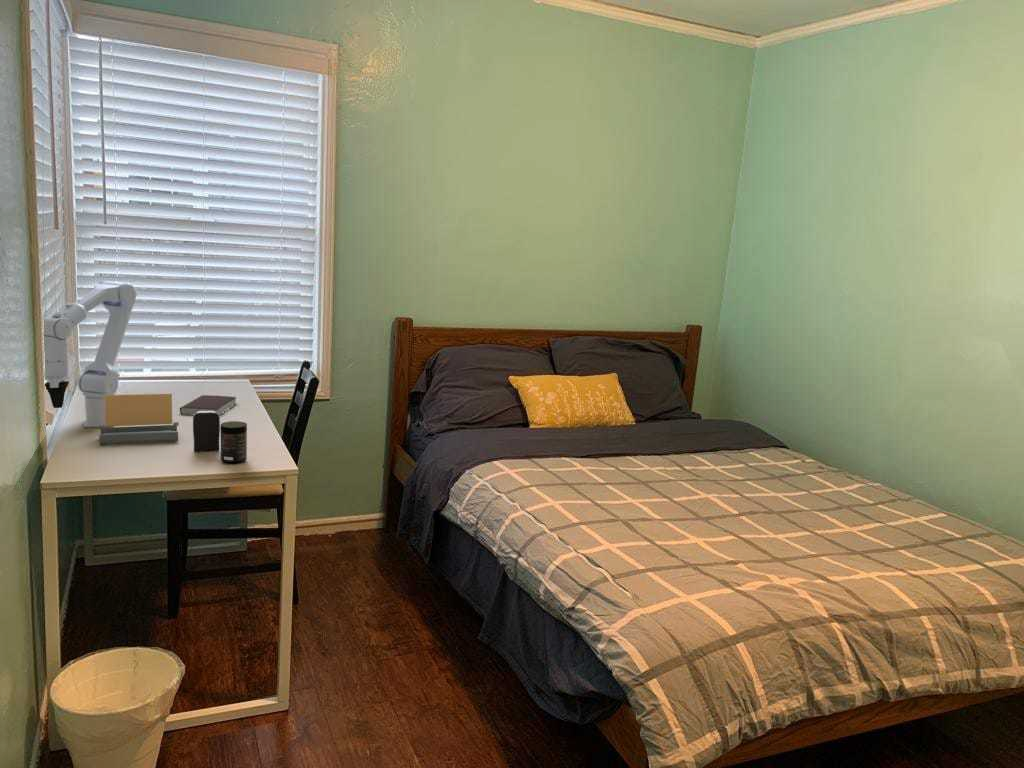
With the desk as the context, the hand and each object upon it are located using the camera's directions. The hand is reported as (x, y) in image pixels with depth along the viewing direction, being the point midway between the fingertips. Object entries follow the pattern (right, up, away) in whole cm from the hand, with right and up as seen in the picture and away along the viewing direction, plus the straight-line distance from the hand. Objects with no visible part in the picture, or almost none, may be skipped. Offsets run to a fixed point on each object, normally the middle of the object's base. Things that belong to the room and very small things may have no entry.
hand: (58, 407), depth 217 cm
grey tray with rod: (+21, -9, +3) cm, 24 cm away
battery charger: (+43, -12, -1) cm, 44 cm away
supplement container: (+53, -15, -9) cm, 56 cm away
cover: (+20, -1, +6) cm, 21 cm away
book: (+26, -3, +44) cm, 51 cm away
